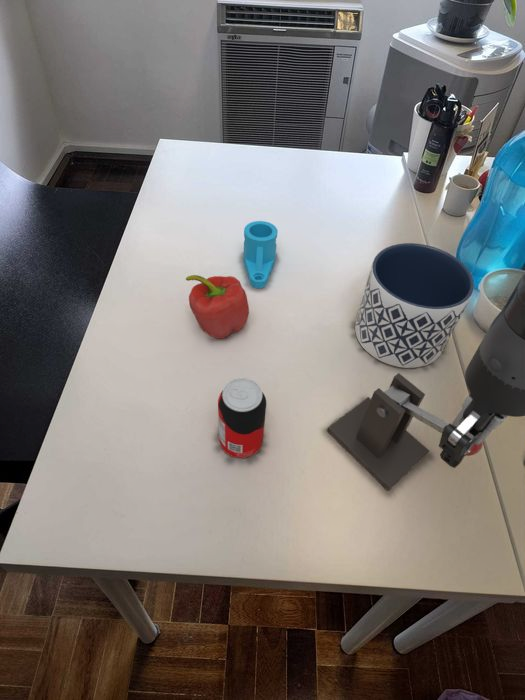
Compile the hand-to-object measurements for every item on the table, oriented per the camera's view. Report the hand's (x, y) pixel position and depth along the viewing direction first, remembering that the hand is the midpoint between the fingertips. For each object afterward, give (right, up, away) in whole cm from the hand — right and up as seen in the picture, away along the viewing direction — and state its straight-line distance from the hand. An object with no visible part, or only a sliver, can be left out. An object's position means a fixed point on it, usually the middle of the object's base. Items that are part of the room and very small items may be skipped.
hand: (459, 450), depth 56 cm
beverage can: (-27, -2, +13) cm, 30 cm away
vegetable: (-32, +17, +28) cm, 45 cm away
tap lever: (-3, +2, +3) cm, 4 cm away
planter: (+1, +15, +28) cm, 32 cm away
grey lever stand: (-7, -2, +13) cm, 15 cm away
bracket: (-24, +28, +38) cm, 54 cm away
